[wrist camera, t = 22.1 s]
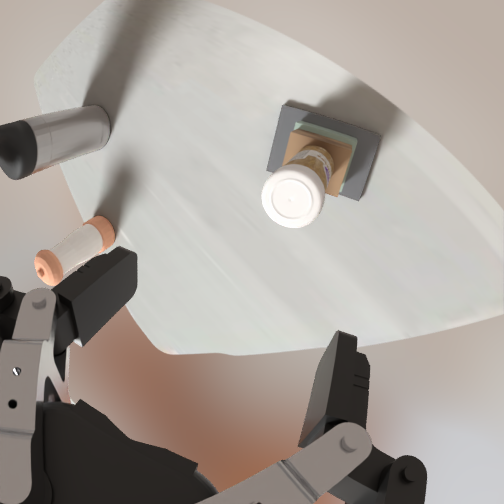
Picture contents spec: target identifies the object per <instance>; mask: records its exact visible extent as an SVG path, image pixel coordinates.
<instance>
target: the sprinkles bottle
mask: <svg viewBox="0 0 504 504" xmlns="http://www.w3.org/2000/svg"><path fill="white" fill-rule="evenodd" d="M333 170H334V163H333V159H332V157H331V155H330V154H329V153H328V152H327V151H326V150H325V149H324V148H322V147H319V146H306V147H305V148H302V149H301V150H300V151H299V152H298V153H297V154H296V155H295V156H294V157H293V158H292V159H290V160H289V161H288V162H287V163H286V164H285V165H284V166H282V167H280V168H279V169H277V170H276V171H275V172H274V173H272V174H271V175H270V177H269V178H268V179H267V180H266V182H265V184H264V186H263V190H262V203H263V206H264V209H265V211H266V212H267V214H268V215H269V216H270V218H271V219H273V220H274V221H275V222H276V223H278V224H280V225H282V226H285V227H289V228H299V227H303V226H306V225H308V224H310V223H311V222H313V221H314V220H315V219H316V218H317V217H318V215H319V214H320V212H321V209H322V207H323V204H324V200H325V190H326V189H327V186H328V184H329V181H330V178H331V176H332V173H333Z"/></svg>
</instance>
